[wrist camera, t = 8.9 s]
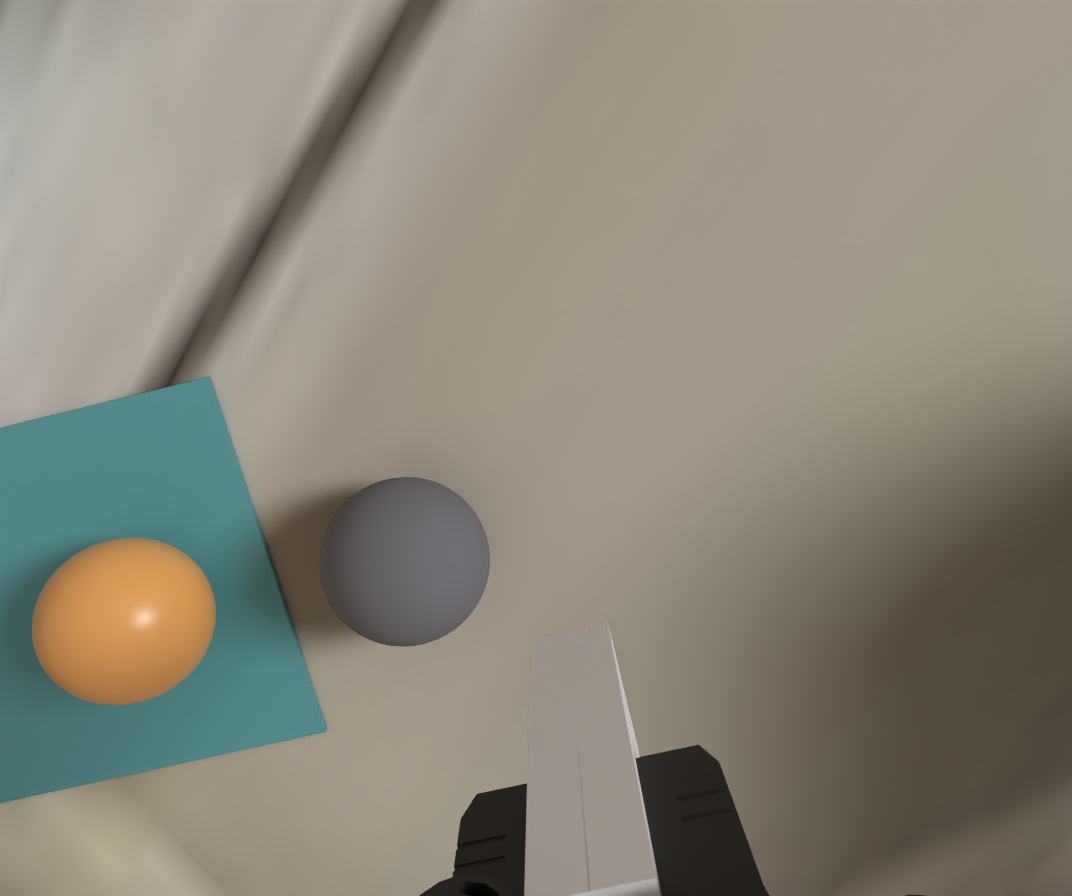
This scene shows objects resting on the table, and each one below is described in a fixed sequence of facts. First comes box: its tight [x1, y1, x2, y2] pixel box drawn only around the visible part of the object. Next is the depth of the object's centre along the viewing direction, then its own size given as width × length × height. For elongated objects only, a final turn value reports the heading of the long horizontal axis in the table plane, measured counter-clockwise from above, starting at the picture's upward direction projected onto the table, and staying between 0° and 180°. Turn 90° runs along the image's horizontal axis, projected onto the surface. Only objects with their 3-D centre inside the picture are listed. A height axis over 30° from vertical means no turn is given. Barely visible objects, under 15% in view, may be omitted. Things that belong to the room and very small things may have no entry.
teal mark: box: [0, 377, 327, 803], centre depth 30 cm, size 14×14×1 cm
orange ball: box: [32, 537, 216, 705], centre depth 27 cm, size 6×6×6 cm
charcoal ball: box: [320, 477, 490, 646], centre depth 27 cm, size 6×6×6 cm
